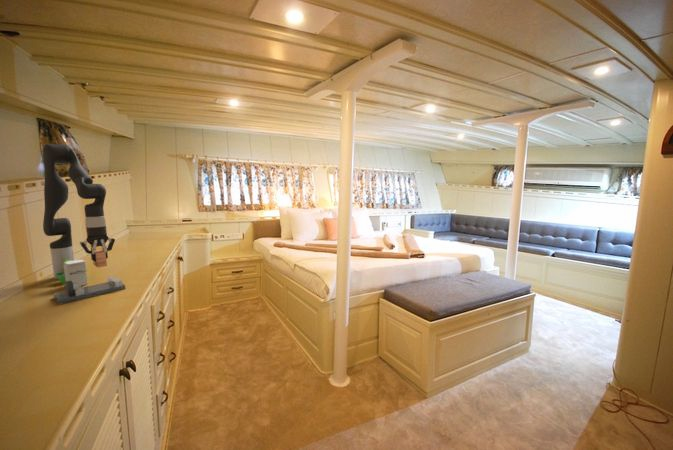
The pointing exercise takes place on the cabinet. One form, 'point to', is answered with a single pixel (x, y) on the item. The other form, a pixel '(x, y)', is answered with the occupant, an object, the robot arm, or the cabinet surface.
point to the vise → (91, 290)
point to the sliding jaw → (73, 288)
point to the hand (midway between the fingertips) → (100, 260)
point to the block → (100, 258)
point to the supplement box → (75, 272)
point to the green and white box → (62, 274)
